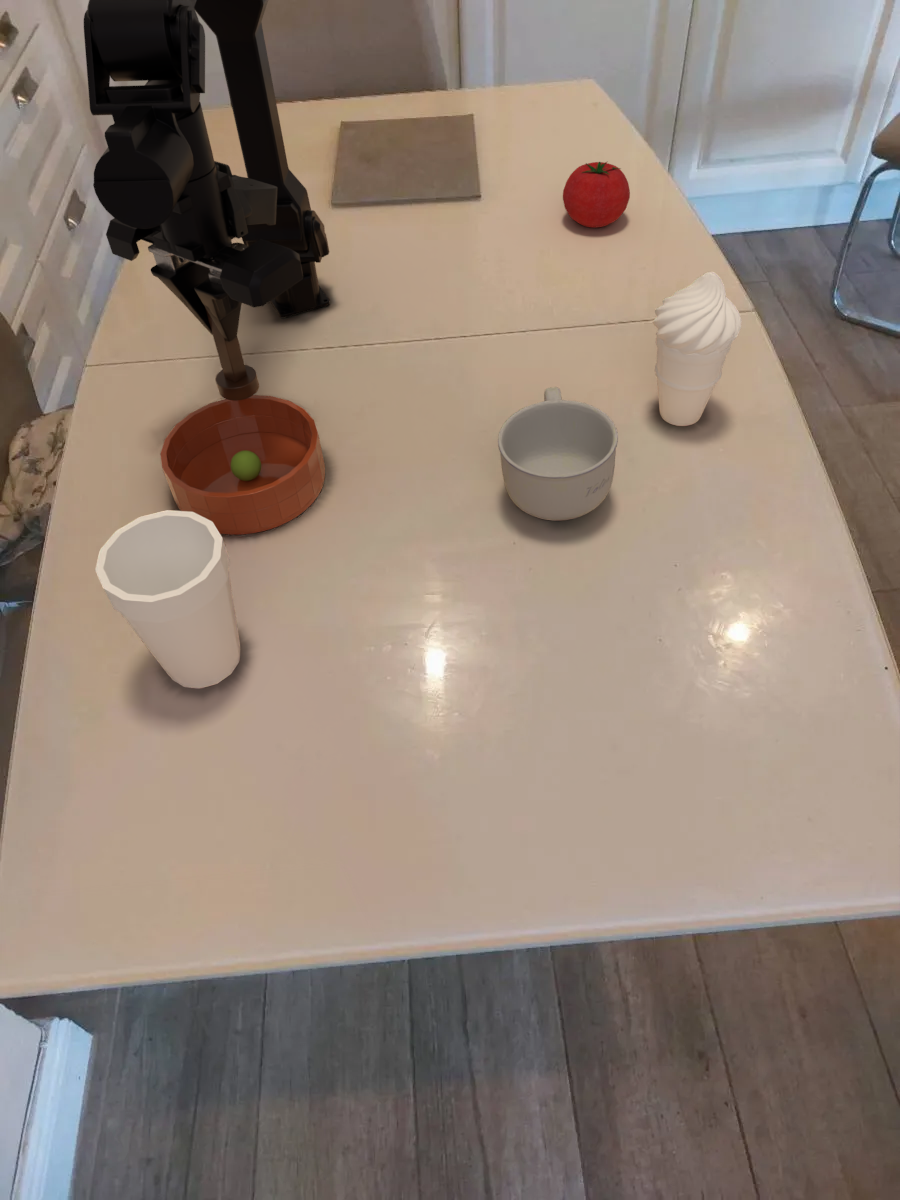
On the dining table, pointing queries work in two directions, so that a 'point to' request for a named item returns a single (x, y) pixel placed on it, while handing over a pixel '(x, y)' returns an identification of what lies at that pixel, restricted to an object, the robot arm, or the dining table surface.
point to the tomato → (596, 194)
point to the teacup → (558, 457)
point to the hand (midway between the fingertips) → (224, 336)
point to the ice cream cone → (692, 347)
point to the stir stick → (233, 368)
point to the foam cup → (175, 593)
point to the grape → (245, 465)
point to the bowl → (251, 424)
